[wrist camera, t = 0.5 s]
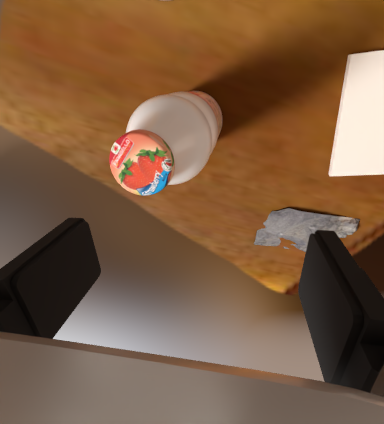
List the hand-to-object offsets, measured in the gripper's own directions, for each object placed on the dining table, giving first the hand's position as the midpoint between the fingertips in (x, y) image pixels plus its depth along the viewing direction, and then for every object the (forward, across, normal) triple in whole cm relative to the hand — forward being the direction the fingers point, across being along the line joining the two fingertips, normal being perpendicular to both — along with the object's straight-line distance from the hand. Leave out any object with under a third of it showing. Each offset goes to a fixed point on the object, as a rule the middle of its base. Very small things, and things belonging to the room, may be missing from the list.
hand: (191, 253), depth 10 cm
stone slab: (+37, -16, +20) cm, 45 cm away
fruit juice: (+36, +5, -2) cm, 37 cm away
